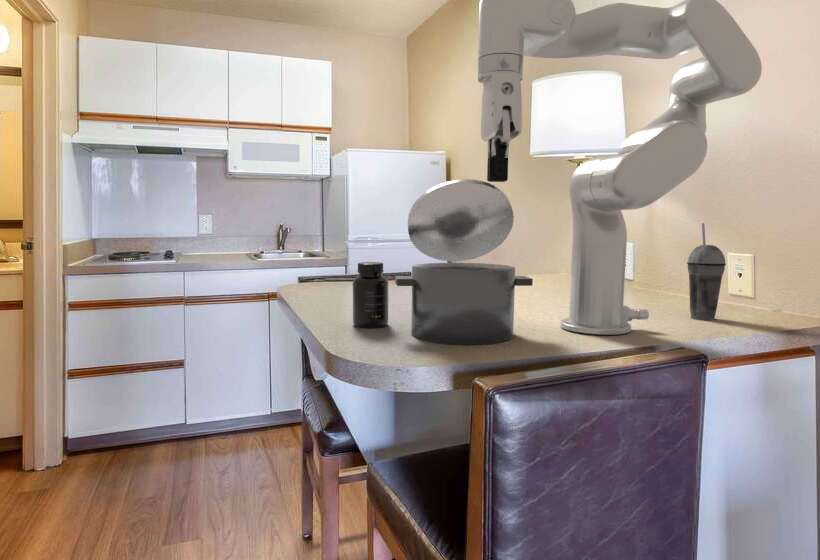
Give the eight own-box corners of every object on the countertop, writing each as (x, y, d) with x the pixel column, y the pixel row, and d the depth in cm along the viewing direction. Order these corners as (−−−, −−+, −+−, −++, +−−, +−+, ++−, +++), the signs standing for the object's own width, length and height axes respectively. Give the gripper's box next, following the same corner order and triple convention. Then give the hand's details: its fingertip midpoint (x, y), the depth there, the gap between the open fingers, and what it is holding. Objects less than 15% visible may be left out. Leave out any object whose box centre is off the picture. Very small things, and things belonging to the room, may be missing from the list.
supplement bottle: (348, 323, 108) (347, 261, 107) (381, 321, 111) (381, 261, 109) (359, 329, 102) (359, 264, 100) (393, 327, 104) (394, 263, 103)
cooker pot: (512, 323, 109) (514, 262, 108) (543, 344, 91) (545, 271, 90) (392, 324, 107) (392, 262, 105) (399, 346, 89) (400, 271, 87)
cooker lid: (501, 261, 108) (499, 251, 110) (524, 185, 93) (521, 175, 95) (404, 261, 106) (403, 251, 108) (412, 184, 92) (411, 173, 93)
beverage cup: (729, 321, 113) (736, 223, 111) (693, 321, 113) (700, 223, 111) (710, 315, 121) (717, 223, 118) (677, 315, 121) (682, 222, 118)
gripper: (536, 59, 86) (532, 178, 88) (509, 82, 101) (506, 184, 103) (489, 57, 86) (486, 177, 88) (469, 81, 100) (467, 183, 102)
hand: (497, 181), depth 95 cm, fingers closed
